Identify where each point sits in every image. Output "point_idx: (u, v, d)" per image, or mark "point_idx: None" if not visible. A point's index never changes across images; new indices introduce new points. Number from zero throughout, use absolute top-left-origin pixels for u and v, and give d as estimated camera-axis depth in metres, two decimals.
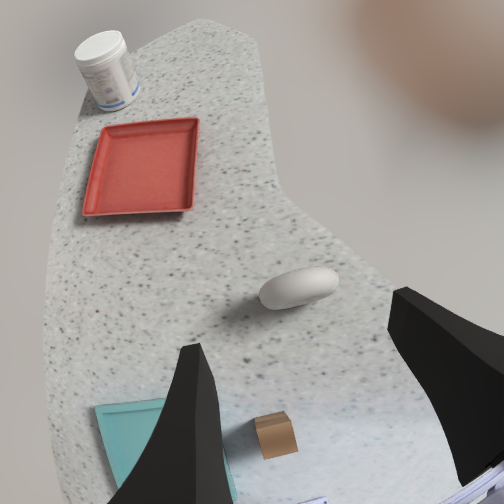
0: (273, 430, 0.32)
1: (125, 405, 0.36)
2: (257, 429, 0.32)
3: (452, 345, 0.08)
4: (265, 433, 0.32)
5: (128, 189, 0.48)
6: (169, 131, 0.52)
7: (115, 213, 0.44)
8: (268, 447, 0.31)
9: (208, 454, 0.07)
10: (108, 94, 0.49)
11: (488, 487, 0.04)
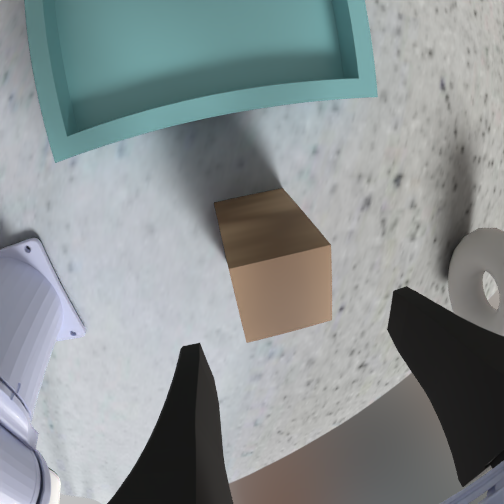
0: (317, 286, 0.13)
1: None
2: (328, 248, 0.12)
3: (452, 345, 0.08)
4: (313, 268, 0.13)
5: None
6: None
7: None
8: (270, 278, 0.12)
9: (208, 454, 0.07)
10: None
11: (488, 487, 0.04)
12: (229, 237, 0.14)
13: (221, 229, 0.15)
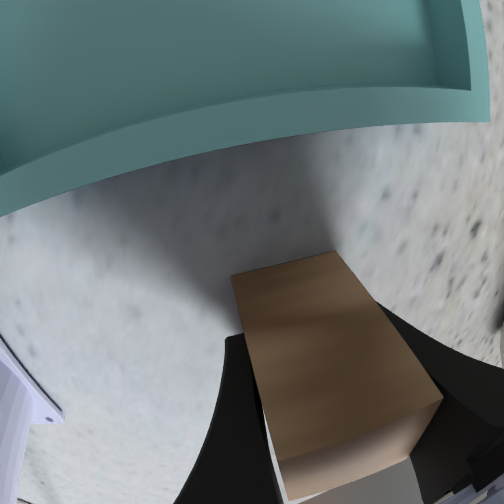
0: (404, 441, 0.07)
1: None
2: (438, 400, 0.06)
3: None
4: (408, 428, 0.06)
5: None
6: None
7: None
8: (343, 454, 0.06)
9: (265, 443, 0.07)
10: None
11: (488, 487, 0.04)
12: (268, 371, 0.08)
13: (250, 347, 0.08)
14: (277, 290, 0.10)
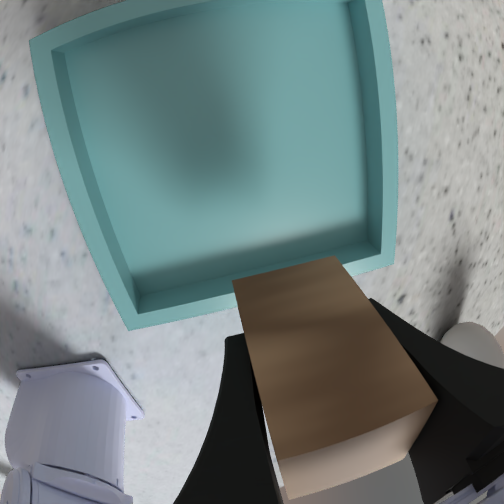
0: (401, 442, 0.07)
1: (389, 69, 0.12)
2: (432, 402, 0.06)
3: None
4: (404, 429, 0.06)
5: None
6: None
7: None
8: (340, 454, 0.06)
9: (265, 443, 0.07)
10: None
11: (488, 487, 0.04)
12: (268, 374, 0.08)
13: (251, 351, 0.09)
14: (277, 294, 0.11)
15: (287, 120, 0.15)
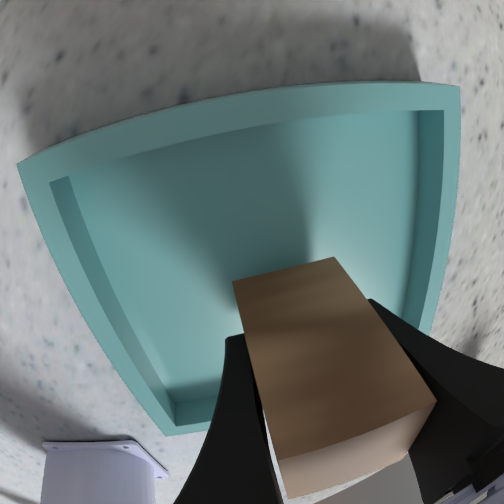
0: (400, 442, 0.07)
1: (453, 199, 0.12)
2: (431, 403, 0.06)
3: None
4: (403, 429, 0.07)
5: None
6: None
7: None
8: (340, 454, 0.06)
9: (265, 443, 0.07)
10: None
11: (488, 487, 0.04)
12: (268, 375, 0.08)
13: (251, 352, 0.09)
14: (277, 295, 0.11)
15: (337, 252, 0.14)
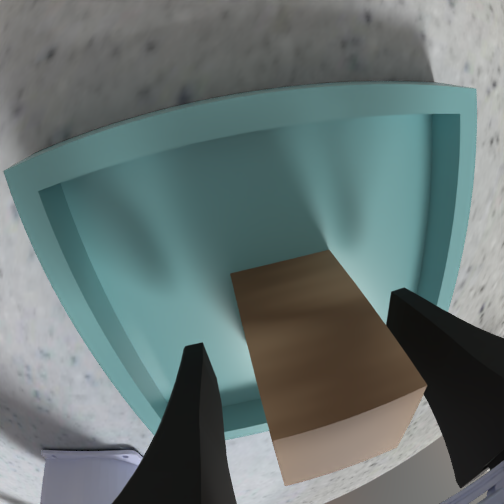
0: (393, 428, 0.07)
1: (467, 206, 0.11)
2: (422, 388, 0.07)
3: (449, 346, 0.08)
4: (395, 414, 0.07)
5: None
6: None
7: None
8: (333, 437, 0.07)
9: (212, 453, 0.07)
10: None
11: (488, 487, 0.04)
12: (264, 360, 0.08)
13: (248, 339, 0.09)
14: (273, 286, 0.11)
15: (346, 262, 0.13)
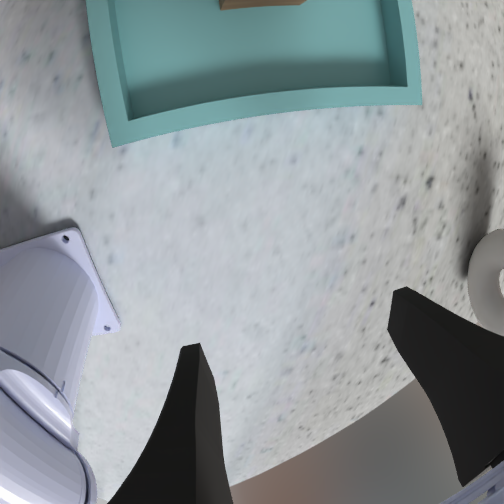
0: None
1: None
2: None
3: (452, 345, 0.08)
4: None
5: None
6: None
7: None
8: None
9: (208, 454, 0.07)
10: None
11: (488, 487, 0.04)
12: None
13: None
14: None
15: None
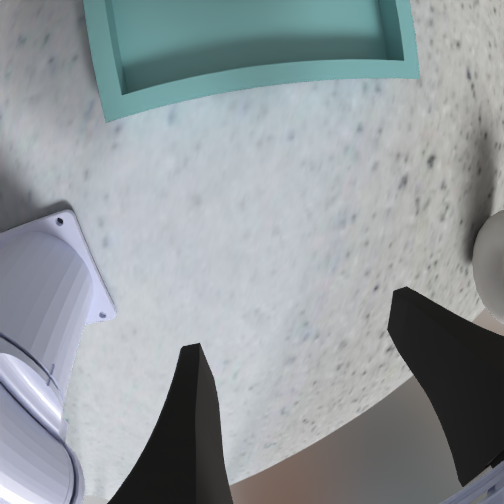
0: None
1: None
2: None
3: (452, 345, 0.08)
4: None
5: None
6: None
7: None
8: None
9: (208, 454, 0.07)
10: None
11: (488, 487, 0.04)
12: None
13: None
14: None
15: None
